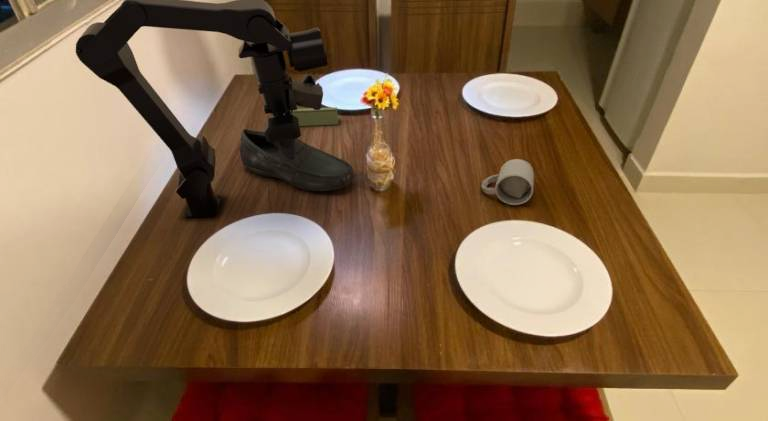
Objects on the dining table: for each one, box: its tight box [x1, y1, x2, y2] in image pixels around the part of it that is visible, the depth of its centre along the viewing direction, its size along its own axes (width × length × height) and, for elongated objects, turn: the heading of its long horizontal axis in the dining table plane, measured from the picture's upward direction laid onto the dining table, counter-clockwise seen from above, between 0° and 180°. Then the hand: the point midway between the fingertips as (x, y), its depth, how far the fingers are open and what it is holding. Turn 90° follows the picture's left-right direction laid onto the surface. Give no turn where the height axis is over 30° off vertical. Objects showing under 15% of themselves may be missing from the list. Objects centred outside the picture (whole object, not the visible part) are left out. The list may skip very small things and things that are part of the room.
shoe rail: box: [269, 107, 339, 127], centre depth 121 cm, size 2×18×5 cm, turn 93°
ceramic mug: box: [481, 158, 535, 206], centre depth 95 cm, size 11×8×8 cm
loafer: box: [238, 128, 355, 192], centre depth 100 cm, size 10×29×10 cm, turn 71°
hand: (291, 147), depth 91 cm, fingers open, 9 cm apart
